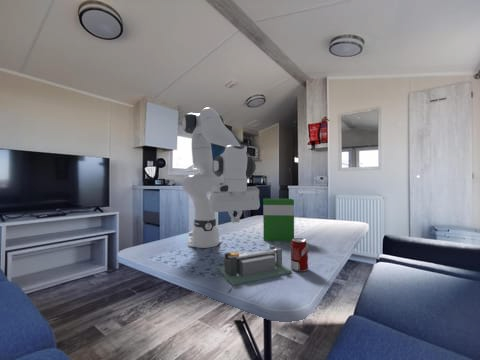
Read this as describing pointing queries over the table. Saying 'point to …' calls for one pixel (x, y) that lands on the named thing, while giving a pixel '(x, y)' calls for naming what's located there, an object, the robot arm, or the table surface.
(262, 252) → the strap
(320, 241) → the table surface
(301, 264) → the soda can
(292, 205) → the green cereal box
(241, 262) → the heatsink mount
